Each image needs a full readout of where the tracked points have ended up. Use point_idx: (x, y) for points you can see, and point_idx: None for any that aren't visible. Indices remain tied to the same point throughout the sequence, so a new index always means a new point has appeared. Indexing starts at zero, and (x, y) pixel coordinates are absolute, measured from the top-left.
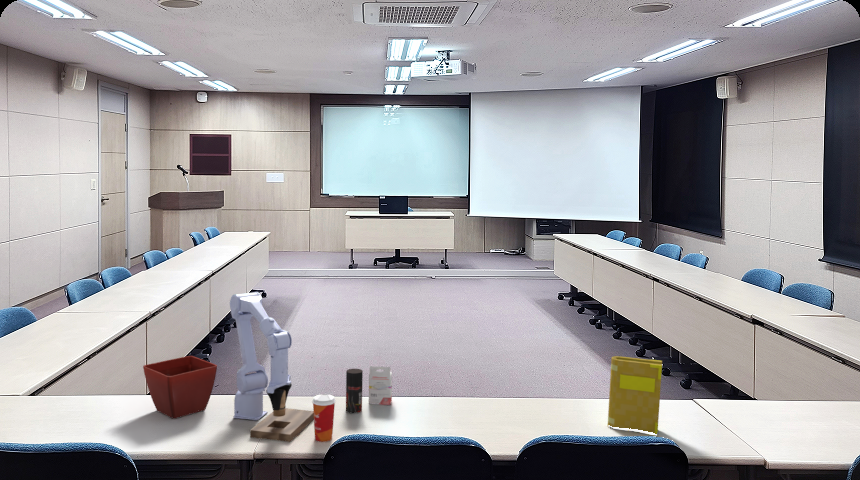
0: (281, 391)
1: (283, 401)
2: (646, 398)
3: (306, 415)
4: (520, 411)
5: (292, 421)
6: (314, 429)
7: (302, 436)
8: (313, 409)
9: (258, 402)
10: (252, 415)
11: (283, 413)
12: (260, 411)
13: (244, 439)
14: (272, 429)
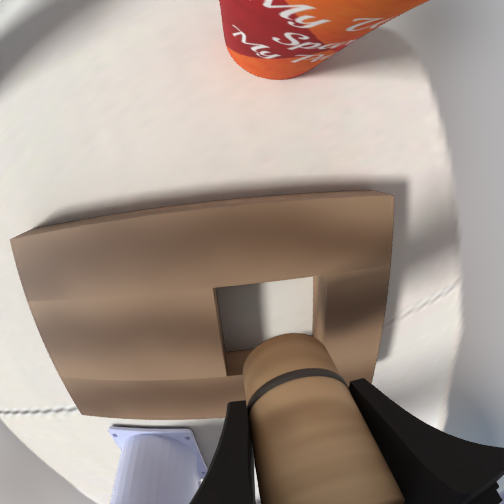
0: (492, 481)
1: (347, 420)
2: None
3: (73, 252)
4: None
5: (197, 284)
6: (324, 59)
7: (285, 157)
8: (412, 7)
9: (162, 485)
10: (187, 453)
11: (309, 345)
12: (155, 449)
13: (375, 374)
14: (349, 321)
